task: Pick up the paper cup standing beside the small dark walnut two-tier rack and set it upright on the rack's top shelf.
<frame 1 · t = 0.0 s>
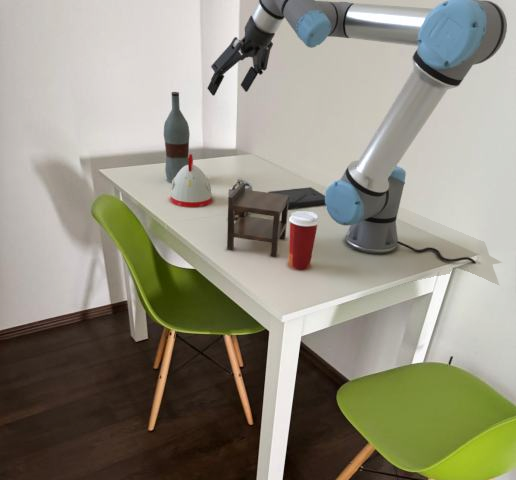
hand: (227, 90, 147), 36 cm above the table, tool tilted 35°, fingers open, 13 cm apart
bottle: (178, 180, 191), on the table
rack: (257, 243, 147), on the table
picture frame: (298, 201, 180), on the table
food container: (241, 216, 164), on the table
paper cup: (298, 266, 136), on the table
kitchen timer: (191, 200, 174), on the table
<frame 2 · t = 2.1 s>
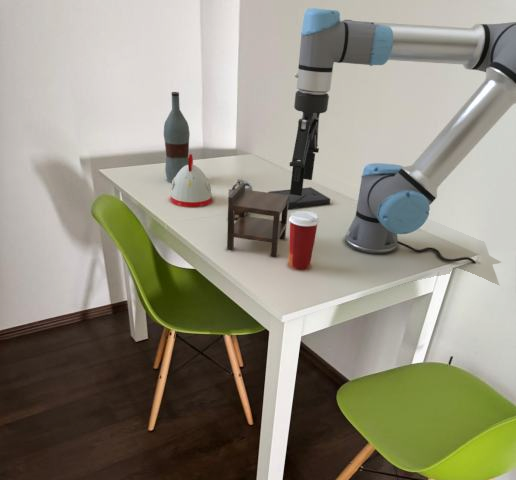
hand: (301, 186, 125), 21 cm above the table, tool pointing down, fingers open, 13 cm apart
nothing on the table moved.
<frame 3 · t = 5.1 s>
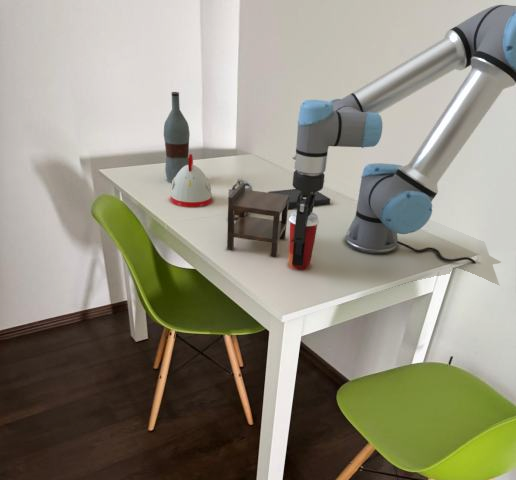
hand: (299, 258, 135), 2 cm above the table, tool pointing down, fingers closed on paper cup, 7 cm apart
paper cup: (298, 266, 136), on the table, touching gripper
everything else where it was.
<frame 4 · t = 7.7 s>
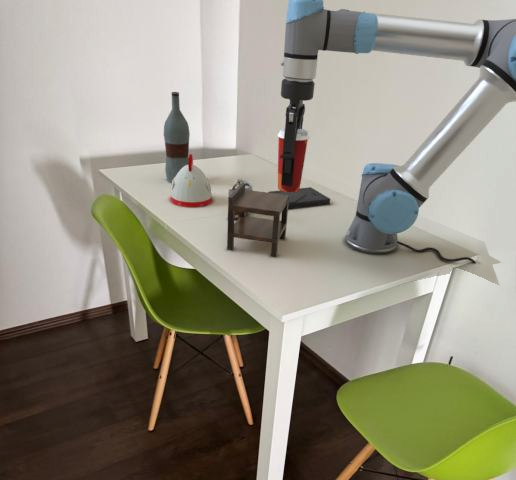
hand: (289, 180, 128), 21 cm above the table, tool pointing down, fingers closed on paper cup, 7 cm apart
paper cup: (288, 189, 129), point 19 cm above the table, touching gripper
everything else where it was.
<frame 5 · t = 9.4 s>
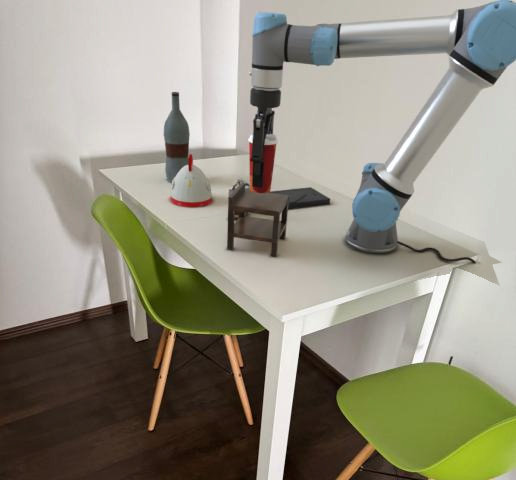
hand: (260, 182, 137), 18 cm above the table, tool pointing down, fingers closed on paper cup, 7 cm apart
paper cup: (259, 190, 138), point 16 cm above the table, touching gripper
everything else where it was.
when the fingers open (15 cm above the table, at t = 10.6 s): paper cup stays where it is, resting on rack.
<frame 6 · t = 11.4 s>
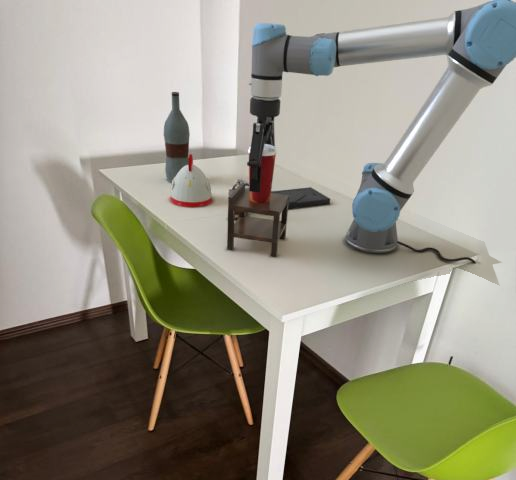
hand: (260, 184, 137), 17 cm above the table, tool pointing down, fingers open, 13 cm apart
paper cup: (259, 200, 139), point 13 cm above the table, touching rack
everything else where it was.
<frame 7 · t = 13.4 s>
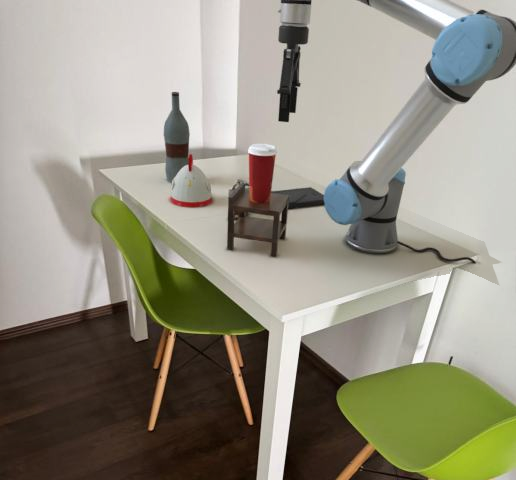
hand: (287, 117, 138), 32 cm above the table, tool pointing down, fingers open, 13 cm apart
nothing on the table moved.
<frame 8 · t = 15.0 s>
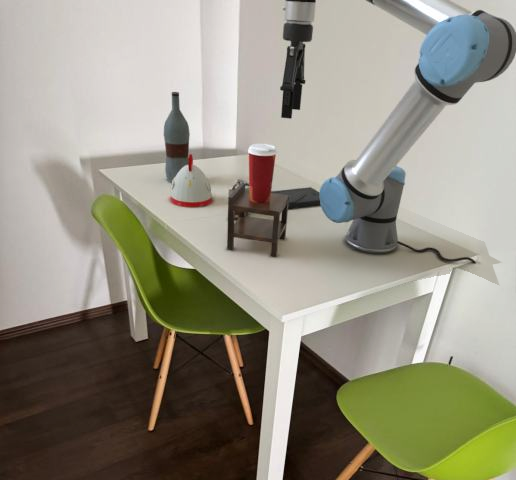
hand: (290, 113, 140), 33 cm above the table, tool pointing down, fingers open, 13 cm apart
nothing on the table moved.
at the end: paper cup inside the target area on the rack (0.0 cm from its centre), point 12.8 cm above the rack's base; paper cup tilted 0°; the gripper is holding nothing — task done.
